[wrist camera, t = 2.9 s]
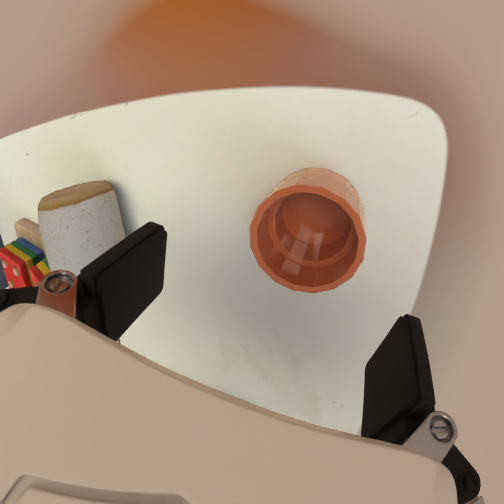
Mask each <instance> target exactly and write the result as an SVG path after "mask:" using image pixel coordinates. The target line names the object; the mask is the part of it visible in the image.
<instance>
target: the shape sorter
mask: <svg viewBox="0 0 504 504" xmlns="http://www.w3.org/2000/svg"><path fill="white" fill-rule="evenodd" d="M15 228H16V233H17V238H18V239H17V240H16V241H13V242H11V243H10V244H7V245H6V246H5V247H2V248H0V258H1V262H2V265H3V269H4V272H5V275H6V278H7V281H8V284H9V287H10V288H23V287H35V286H39V285H40V282H41V280H42V278H43V277H44V276H45V275H46V274H48V273H49V272H51V271H50V267H49V264H48V260H47V256H46V252H45V248H44V244H43V240H42V237H41V233H40V228H39V226H38V225H36V224H34V223H32V222H31V221H29V220H27V219H25V218H23V219H21V220H19V221H17V222H16V223H15ZM116 342H117V343H119V339H118V340H117V341H116ZM119 344H120V343H119Z"/></svg>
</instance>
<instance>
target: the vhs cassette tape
mask: <svg viewBox="0 0 504 504" xmlns="http://www.w3.org/2000/svg"><path fill="white" fill-rule="evenodd" d="M2 247H4V245H3V242H2V239H1V236H0V248H2ZM8 286H9V284H8V281H7V278H6V275H5V272H4V269H3V265H2V262H1V258H0V290H2V289H5V288H6V287H8Z"/></svg>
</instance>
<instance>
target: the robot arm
mask: <svg viewBox="0 0 504 504" xmlns="http://www.w3.org/2000/svg"><path fill="white" fill-rule="evenodd" d="M166 242H167V232H166V231H165V230H164V227H163V226H162V225H159V224H156V223H154V222H148V223H146V224H145V225H143V226H142V227H140V228H139V229H138V230H136V231H135V232H133V233H132V234H130V235H129V236H127V237H126V238H124V239H123V240H121V241H120V242H119V243H117V244H116V245H114V246H113V247H111V248H110V249H109V250H107V251H106V252H104V253H103V254H102V255H100V256H99V257H98V258H96V259H95V260H93V261H92V262H91V263H89V264H88V265H87V266H85V267H84V268H83V269H81V270H80V274H79V275H78V276H76V275H75V274H74V273H72V272H71V271H68V270H55V271H52V272H49V273H48V274H46V275H45V276H44V277H43V278H42V280H41V282H40V285H39V286H35V287H23V288H11V289H2V290H0V504H485V503H484V501H483V498H482V496H480V497H478V496H477V495H478V493H479V491H480V486H481V485H480V478H479V475H478V473H477V472H476V470H475V469H474V468H473V467H472V466H471V464H470V463H469V462H468V461H467V459H466V458H465V457H464V456H463V455H462V454H461V452H460V451H459V450H458V449H457V447H456V446H455V445H454V442H455V440H456V438H457V428H456V425H455V422H454V421H453V419H452V418H451V417H450V416H449V415H448V414H446V413H444V412H442V411H435V407H434V405H435V397H434V389H433V382H432V376H431V370H430V364H429V359H428V354H427V349H426V344H425V339H424V335H423V330H422V325H421V322H420V319H419V318H416V317H414V316H411V315H408V314H406V315H404V316H403V317H402V316H400V317H399V318H398V319H397V321H396V323H395V324H394V326H393V327H392V329H391V330H390V331H389V333H388V334H387V336H386V337H385V339H384V340H383V342H382V343H381V344H380V346H379V347H378V349H377V350H376V351H375V353H374V354H373V356H372V357H371V358H370V360H369V361H368V362H367V365H366V368H365V384H364V403H363V417H362V429H361V436H357V435H353V434H349V433H345V432H341V431H337V430H333V429H330V428H326V427H322V426H318V425H315V424H311V423H308V422H305V421H301V420H298V419H295V418H291V417H288V416H285V415H282V414H279V413H276V412H273V411H270V410H267V409H264V408H261V407H259V406H256V405H253V404H250V403H248V402H245V401H242V400H240V399H237V398H234V397H232V396H229V395H227V394H224V393H222V392H219V391H217V390H215V389H212V388H210V387H207V386H205V385H203V384H200V383H198V382H196V381H194V380H191V379H189V378H187V377H185V376H183V375H180V374H178V373H176V372H174V371H172V370H170V369H168V368H166V367H163V366H161V365H159V364H157V363H155V362H153V361H151V360H149V359H147V358H146V357H144V356H142V355H140V354H138V353H136V352H134V351H132V350H130V349H129V348H127V347H125V346H123V345H121V344H119V343H117V342H116V341H117V340H118V339H119V338H120V337H121V335H122V334H123V333H124V332H125V331H126V330H127V329H128V328H129V327H130V325H131V324H132V323H133V322H134V321H135V320H136V319H137V318H138V317H139V316H140V315H141V313H142V312H143V311H144V310H145V309H146V308H147V307H148V306H149V305H150V304H151V303H152V302H153V300H154V299H155V298H156V297H157V296H158V295H159V294H160V293H161V291H162V289H163V282H164V267H165V254H166Z"/></svg>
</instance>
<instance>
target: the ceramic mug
mask: <svg viewBox="0 0 504 504" xmlns="http://www.w3.org/2000/svg"><path fill="white" fill-rule="evenodd" d="M38 220H39V228H40V233H41V237H42V240H43V244H44V248H45V252H46V256H47V260H48V264H49V267H50V271H51V272H52V271H55V270H68V271H71V272H72V273H74V274H75V275H76V276H78V275H79V274H80V270H81V269H83V268H84V267H85V266H87V265H88V264H89V263H91V262H92V261H93V260H95V259H96V258H98V257H99V256H100V255H102V254H103V253H104V252H106V251H107V250H109V249H110V248H111V247H113V246H114V245H116V244H117V243H119V242H120V241H121V240H123V239H124V238H126V235H125V231H124V228H123V224H122V219H121V214H120V209H119V204H118V199H117V196H116V194H115V191H114V188H113V186H112V185H111V184H110V183H108V182H106V181H93V182H87V183H82V184H78V185H74V186H70V187H67V188H64V189H61V190H58V191H55V192H53V193H51V194H49V195H47V196H45V197H43V198H42V199H41V201H40V202H39V205H38Z"/></svg>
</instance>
